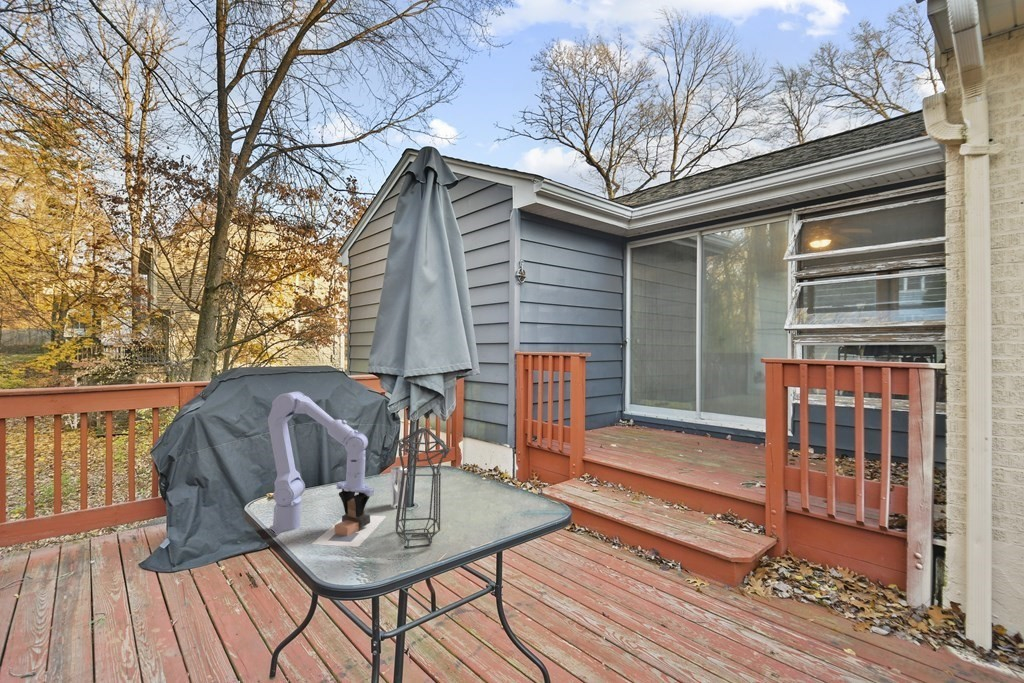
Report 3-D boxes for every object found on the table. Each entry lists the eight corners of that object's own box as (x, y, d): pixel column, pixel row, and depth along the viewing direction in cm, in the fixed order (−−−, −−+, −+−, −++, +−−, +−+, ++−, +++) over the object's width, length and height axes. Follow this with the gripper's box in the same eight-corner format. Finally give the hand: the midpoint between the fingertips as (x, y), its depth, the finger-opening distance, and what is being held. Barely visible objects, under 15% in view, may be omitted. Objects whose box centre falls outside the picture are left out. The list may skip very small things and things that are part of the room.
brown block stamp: (350, 518, 152) (350, 496, 152) (370, 522, 149) (369, 500, 149) (342, 523, 148) (341, 501, 148) (361, 527, 145) (361, 504, 145)
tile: (346, 527, 147) (346, 519, 148) (358, 530, 146) (358, 522, 146) (334, 533, 143) (334, 524, 143) (347, 536, 141) (347, 527, 141)
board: (346, 517, 160) (346, 514, 160) (386, 519, 159) (386, 516, 159) (311, 548, 134) (311, 544, 134) (358, 550, 133) (358, 546, 133)
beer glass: (407, 511, 168) (409, 470, 168) (387, 512, 167) (389, 470, 167) (408, 505, 175) (410, 465, 175) (389, 505, 173) (391, 465, 174)
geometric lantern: (390, 533, 147) (397, 424, 149) (439, 531, 151) (445, 424, 153) (391, 553, 132) (399, 431, 134) (446, 550, 136) (453, 432, 138)
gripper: (329, 471, 148) (327, 514, 147) (363, 478, 141) (361, 522, 141) (346, 467, 154) (344, 507, 154) (379, 473, 147) (377, 516, 147)
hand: (353, 514), depth 148 cm, fingers closed on brown block stamp, 4 cm apart
